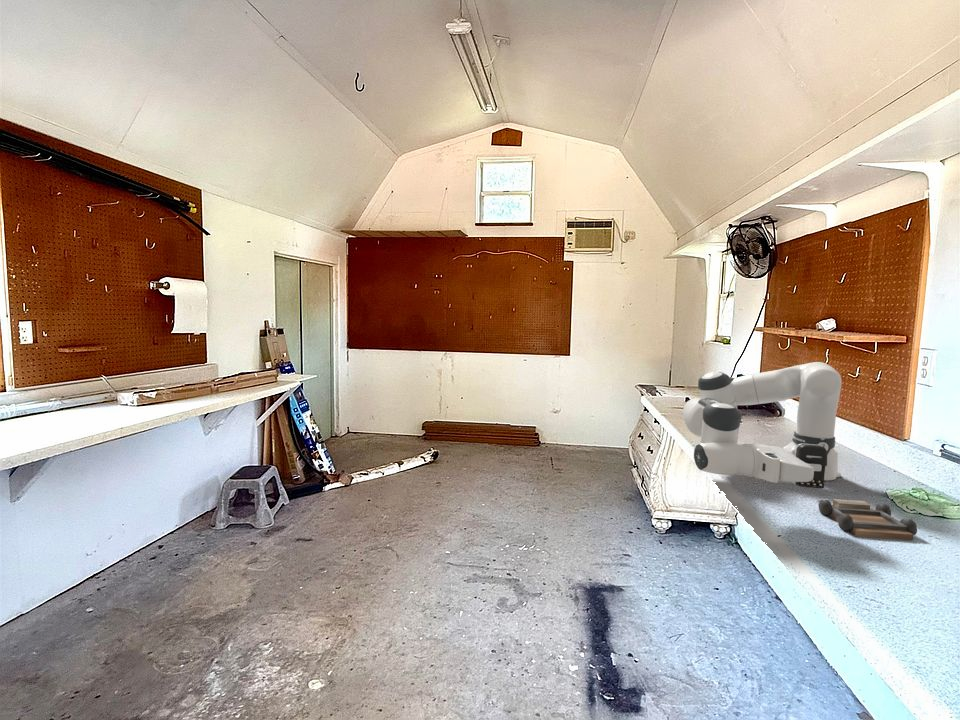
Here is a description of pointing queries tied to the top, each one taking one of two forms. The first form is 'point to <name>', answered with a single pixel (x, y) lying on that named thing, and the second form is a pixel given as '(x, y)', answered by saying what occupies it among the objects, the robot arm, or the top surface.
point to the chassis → (868, 519)
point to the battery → (812, 455)
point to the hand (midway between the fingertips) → (814, 464)
